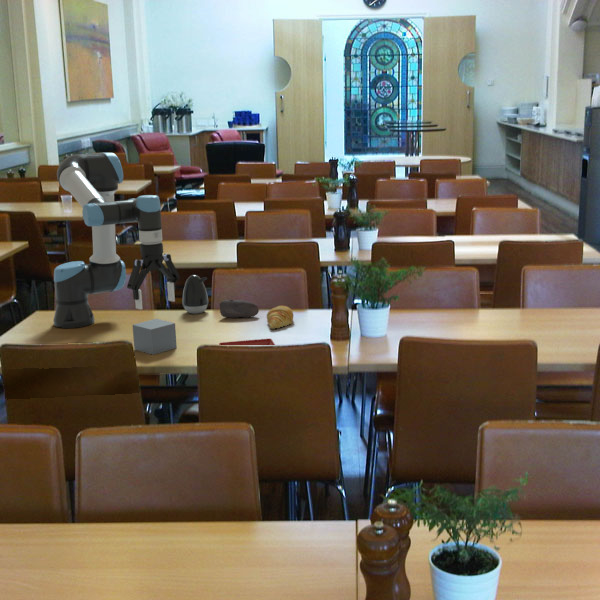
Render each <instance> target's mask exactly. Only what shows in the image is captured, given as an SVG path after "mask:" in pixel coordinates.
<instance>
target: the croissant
mask: <svg viewBox="0 0 600 600" xmlns="http://www.w3.org/2000/svg"><path fill="white" fill-rule="evenodd" d="M293 321H294V312H293V309H292V308H290V307H289V306H287V305H277V306H275V307H273V308H271V309H270V310H269V311H268V312H267V314H266V322H267V323H268V326H269V328H270V329H271V330H273V329H274V330H276V329H275V328H277V329H281V328H280V327H282V328H284V327H283V326H285V327H288V326H289V324H291V325H292V324H293ZM287 325H288V326H287Z"/></svg>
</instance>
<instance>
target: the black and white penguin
mask: <svg viewBox="0 0 600 600" xmlns="http://www.w3.org/2000/svg"><path fill="white" fill-rule="evenodd" d="M207 279H208V277H207V276H205V277H204V276H203V277H202V278H201V277H200V276H199V275H197V274H192V275H191V274H190V276H189V277H188V278H187V279H186V281H185V283H184V288H183V291H182V306H183V308H184V310H185V311H186V312H187V313H188V314H191V315H198V314H202V313H204V312H205V311H206V310H207V308H208V304H209V298H208V292H207V288H206V286H205V283H204V282H205V281H206V280H207Z"/></svg>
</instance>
